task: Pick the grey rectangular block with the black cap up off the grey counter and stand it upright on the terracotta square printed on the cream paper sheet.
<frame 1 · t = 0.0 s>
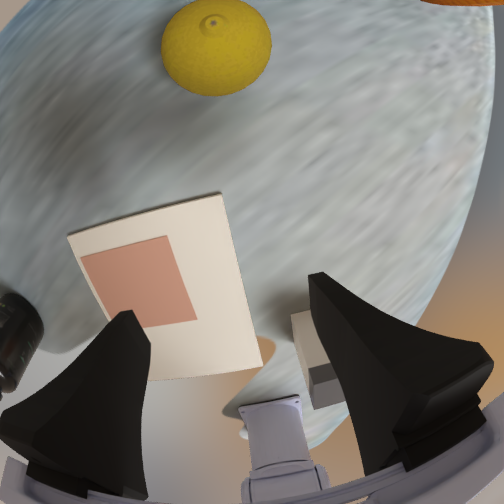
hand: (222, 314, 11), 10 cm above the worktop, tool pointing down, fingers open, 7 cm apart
grey rectangular block: (312, 324, 25), on the worktop
supplement bottle: (23, 315, 22), on the worktop
lemon: (217, 63, 15), on the worktop
paper sheet: (172, 311, 23), on the worktop
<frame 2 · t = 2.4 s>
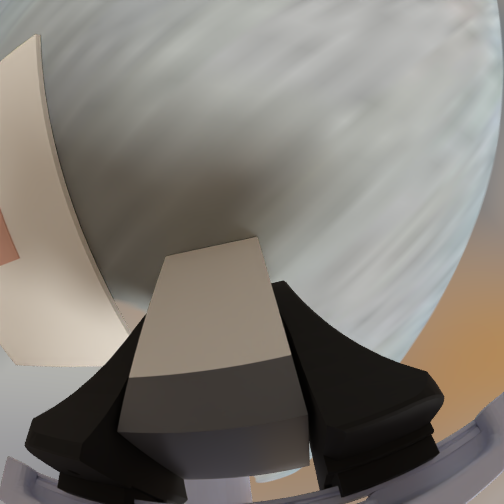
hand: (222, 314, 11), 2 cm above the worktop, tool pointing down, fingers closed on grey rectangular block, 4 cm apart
grey rectangular block: (221, 285, 12), on the worktop, touching gripper
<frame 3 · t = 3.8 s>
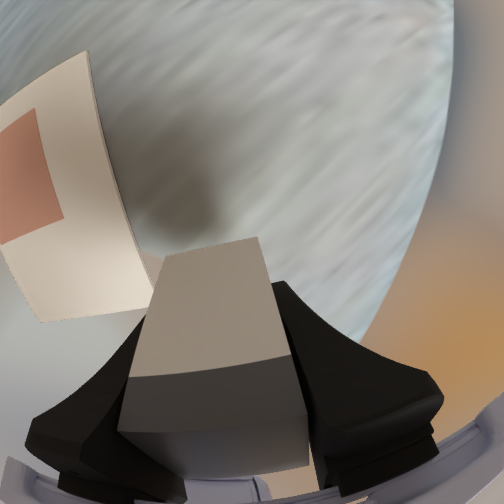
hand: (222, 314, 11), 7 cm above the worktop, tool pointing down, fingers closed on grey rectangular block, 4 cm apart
grey rectangular block: (221, 285, 12), point 5 cm above the worktop, touching gripper
paper sheet: (43, 210, 15), on the worktop
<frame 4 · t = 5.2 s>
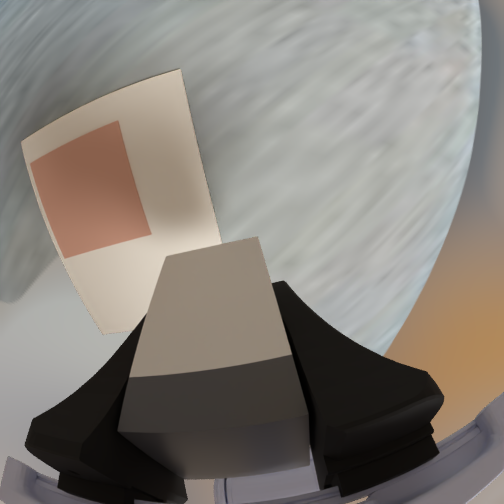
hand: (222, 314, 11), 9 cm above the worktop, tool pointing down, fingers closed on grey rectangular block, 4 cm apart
grey rectangular block: (221, 285, 12), point 7 cm above the worktop, touching gripper
paper sheet: (123, 225, 18), on the worktop
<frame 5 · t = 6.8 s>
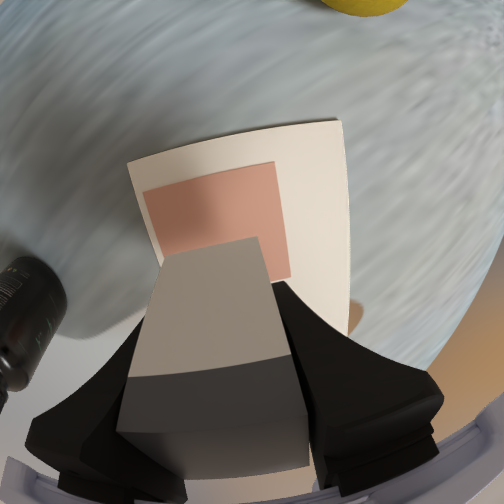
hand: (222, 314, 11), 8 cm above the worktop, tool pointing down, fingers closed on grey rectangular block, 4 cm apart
grey rectangular block: (221, 284, 12), point 6 cm above the worktop, touching gripper
supplement bottle: (39, 287, 18), on the worktop
paper sheet: (259, 267, 19), on the worktop
when the fingers open (4 cm above the worktop, at t = 8.0 s): grey rectangular block drops 1 cm, resting on paper sheet.
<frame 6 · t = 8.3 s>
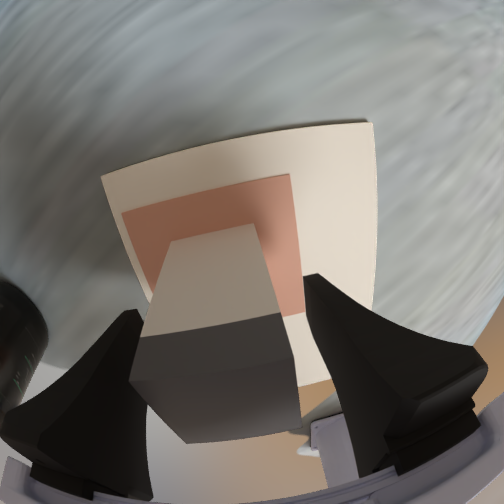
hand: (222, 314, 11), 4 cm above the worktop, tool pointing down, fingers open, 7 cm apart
grey rectangular block: (221, 268, 14), point 1 cm above the worktop, touching paper sheet
supplement bottle: (18, 314, 15), on the worktop
paper sheet: (268, 301, 15), on the worktop
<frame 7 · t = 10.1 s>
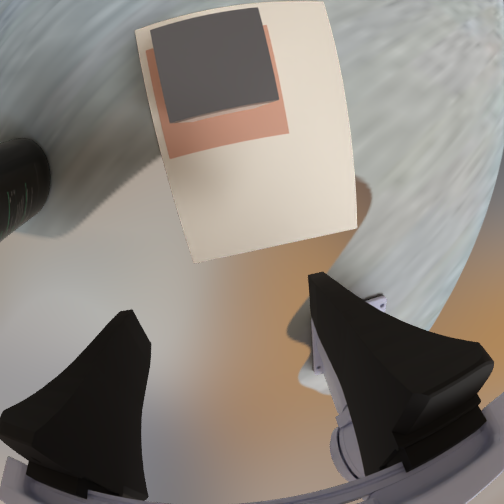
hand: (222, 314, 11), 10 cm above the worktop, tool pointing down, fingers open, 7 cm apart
grey rectangular block: (217, 86, 15), resting on paper sheet
supplement bottle: (25, 176, 16), on the worktop
paper sheet: (255, 123, 17), on the worktop
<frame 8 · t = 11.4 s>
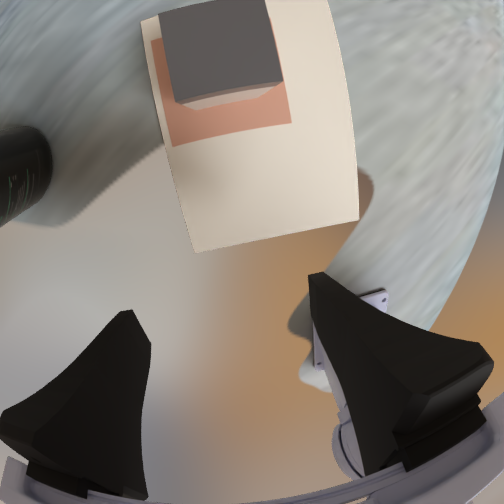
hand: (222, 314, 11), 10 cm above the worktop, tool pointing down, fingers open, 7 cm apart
grey rectangular block: (220, 75, 15), resting on paper sheet
supplement bottle: (27, 165, 16), on the worktop
paper sheet: (258, 113, 16), on the worktop
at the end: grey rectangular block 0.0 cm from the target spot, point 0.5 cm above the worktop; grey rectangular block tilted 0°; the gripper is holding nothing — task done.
